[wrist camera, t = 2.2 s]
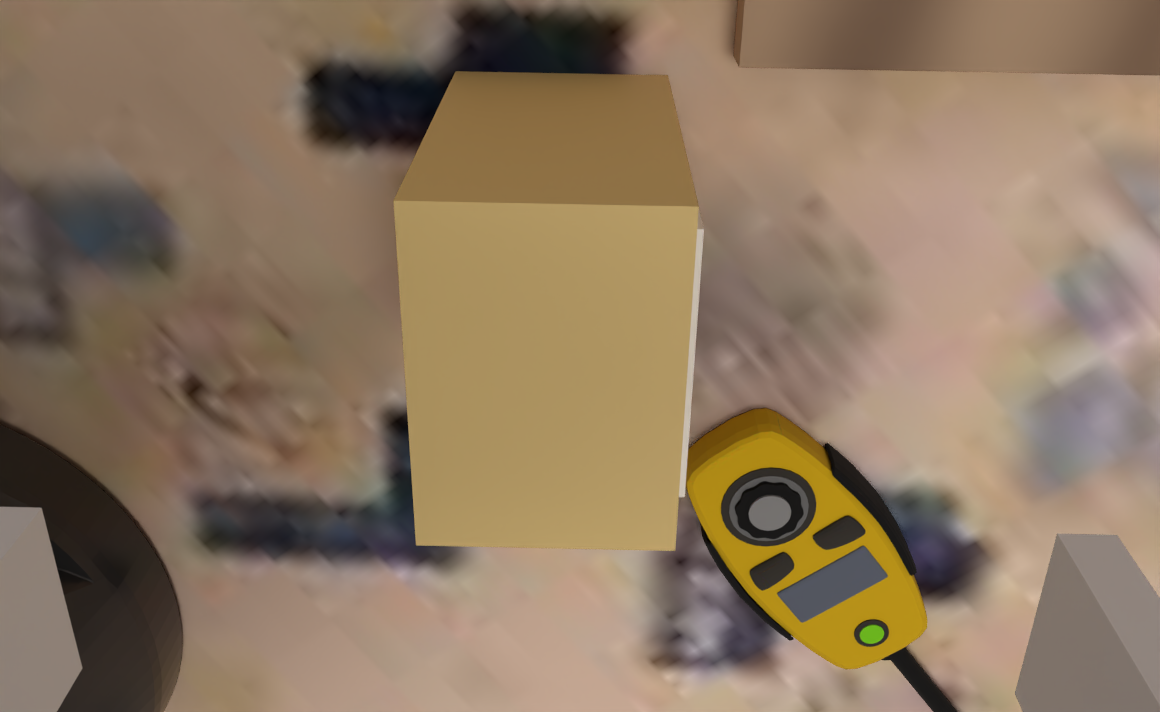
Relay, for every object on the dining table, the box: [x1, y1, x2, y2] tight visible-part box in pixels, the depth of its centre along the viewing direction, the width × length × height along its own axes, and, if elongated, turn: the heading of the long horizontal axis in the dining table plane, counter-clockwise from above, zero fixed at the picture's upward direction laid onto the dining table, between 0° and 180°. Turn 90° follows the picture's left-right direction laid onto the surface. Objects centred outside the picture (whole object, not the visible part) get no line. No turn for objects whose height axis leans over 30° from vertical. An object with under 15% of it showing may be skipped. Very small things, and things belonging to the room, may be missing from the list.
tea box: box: [393, 71, 704, 551], centre depth 24 cm, size 5×7×9 cm
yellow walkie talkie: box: [686, 408, 957, 712], centre depth 33 cm, size 5×2×15 cm
